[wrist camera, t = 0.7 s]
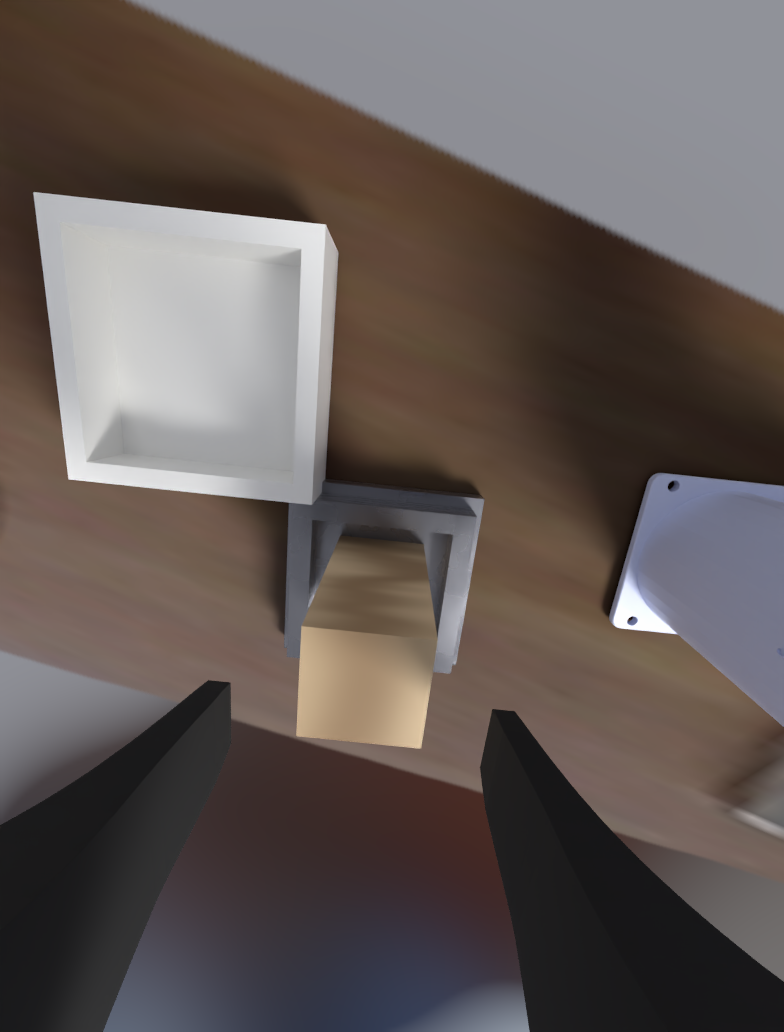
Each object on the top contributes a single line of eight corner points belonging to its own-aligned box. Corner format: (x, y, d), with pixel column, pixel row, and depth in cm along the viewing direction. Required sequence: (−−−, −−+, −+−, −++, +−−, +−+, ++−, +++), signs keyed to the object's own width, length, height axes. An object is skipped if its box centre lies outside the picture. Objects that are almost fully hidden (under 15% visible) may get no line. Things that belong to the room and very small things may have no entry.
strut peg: (423, 544, 20) (437, 640, 12) (413, 618, 21) (420, 748, 13) (340, 535, 20) (301, 626, 12) (334, 609, 21) (296, 735, 13)
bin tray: (338, 252, 17) (325, 224, 14) (324, 488, 20) (311, 504, 17) (95, 225, 17) (33, 192, 14) (116, 466, 20) (68, 479, 17)
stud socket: (481, 495, 20) (490, 507, 18) (453, 655, 22) (459, 683, 20) (294, 475, 20) (281, 485, 18) (288, 638, 22) (276, 664, 20)
